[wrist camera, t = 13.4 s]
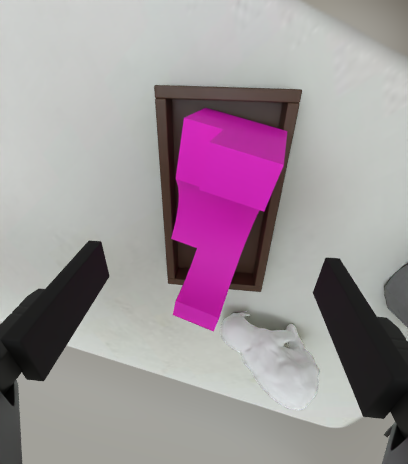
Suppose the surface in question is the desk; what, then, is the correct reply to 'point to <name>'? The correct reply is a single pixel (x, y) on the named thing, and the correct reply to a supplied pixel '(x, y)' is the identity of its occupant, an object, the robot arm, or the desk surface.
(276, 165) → the magenta curved bracket
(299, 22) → the desk surface
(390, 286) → the coffeepot
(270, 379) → the white lumpy piece
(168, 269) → the dark brown rectangular tray
